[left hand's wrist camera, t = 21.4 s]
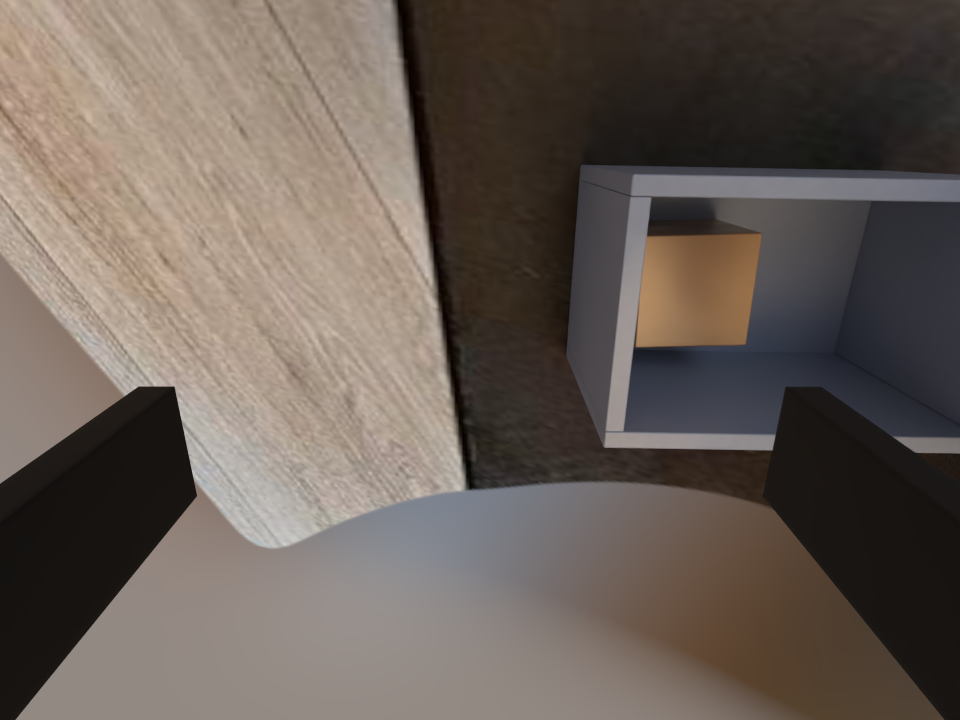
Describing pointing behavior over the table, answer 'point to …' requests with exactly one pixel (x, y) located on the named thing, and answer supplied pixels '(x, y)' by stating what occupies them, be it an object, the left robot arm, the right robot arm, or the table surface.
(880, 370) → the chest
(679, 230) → the block
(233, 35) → the table surface
